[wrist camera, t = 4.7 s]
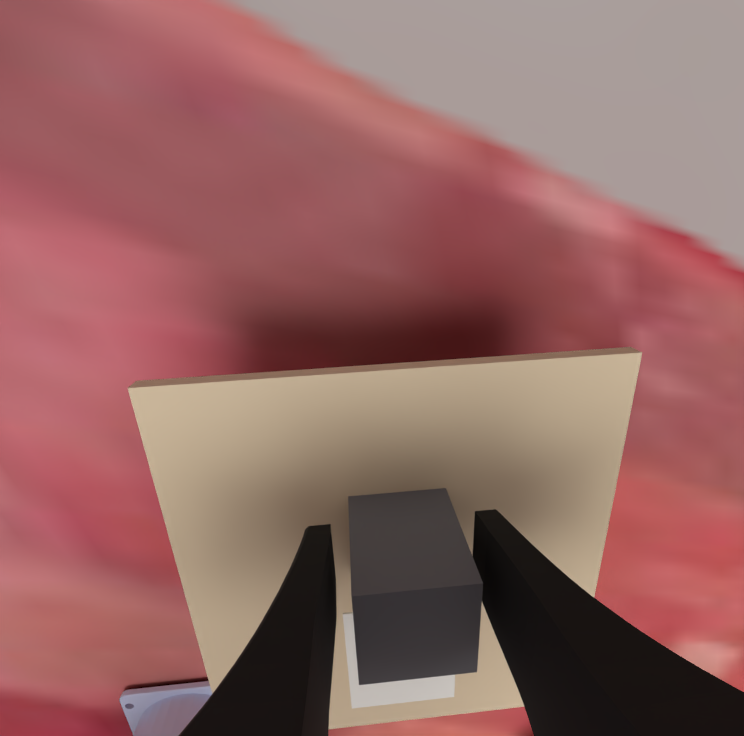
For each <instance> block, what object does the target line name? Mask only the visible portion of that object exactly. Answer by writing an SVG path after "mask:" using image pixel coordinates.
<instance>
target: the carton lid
mask: <svg viewBox="0 0 744 736" xmlns="http://www.w3.org/2000/svg"><path fill="white" fill-rule="evenodd" d="M641 356H642V352H640V351H638V350H636V349H634V348H631V347H624V348H610V349H595V350H580V351H566V352H551V353H537V354H522V355H507V356H493V357H478V358H464V359H449V360H434V361H420V362H405V363H391V364H376V365H361V366H347V367H332V368H318V369H303V370H288V371H274V372H259V373H245V374H230V375H215V376H201V377H186V378H172V379H157V380H142V381H136V382H135V383H133V384H132V385H131V386H130V387H128V391H129V395H130V398H131V402H132V406H133V409H134V413H135V416H136V420H137V424H138V427H139V431H140V434H141V438H142V442H143V445H144V449H145V453H146V456H147V460H148V463H149V467H150V471H151V474H152V478H153V481H154V485H155V489H156V492H157V496H158V499H159V503H160V507H161V510H162V514H163V518H164V521H165V525H166V528H167V532H168V536H169V539H170V543H171V546H172V550H173V554H174V557H175V561H176V565H177V568H178V572H179V575H180V579H181V583H182V586H183V590H184V593H185V597H186V601H187V604H188V608H189V612H190V615H191V619H192V622H193V626H194V630H195V633H196V637H197V640H198V644H199V648H200V651H201V655H202V658H203V662H204V666H205V669H206V673H207V677H208V680H209V684H210V687H211V691H212V694H213V692H214V691H215V690H216V688H217V687H218V686H219V684H220V683H221V681H222V680H223V679H224V677H225V676H226V675H227V673H228V672H229V670H230V669H231V668H232V666H233V665H234V663H235V662H236V661H237V659H238V658H239V656H240V655H241V653H242V652H243V650H244V649H245V647H246V646H247V644H248V643H249V641H250V639H251V638H252V636H253V635H254V633H255V631H256V630H257V628H258V626H259V625H260V623H261V622H262V620H263V618H264V616H265V614H266V613H267V611H268V609H269V607H270V606H271V604H272V602H273V600H274V598H275V597H276V595H277V593H278V591H279V589H280V587H281V585H282V583H283V581H284V579H285V577H286V575H287V573H288V571H289V569H290V567H291V564H292V562H293V560H294V558H295V555H296V553H297V551H298V548H299V546H300V543H301V540H302V538H303V535H304V531H305V529H306V528H307V527H308V526H314V525H325V524H331V534H332V544H333V554H334V564H335V574H336V607H337V620H336V633H335V646H334V658H333V671H332V683H331V696H330V708H329V728H328V729H335V728H344V727H353V726H361V725H370V724H378V723H387V722H395V721H404V720H413V719H421V718H430V717H438V716H447V715H456V714H464V713H473V712H481V711H490V710H499V709H507V708H516V707H524V704H523V701H522V699H521V696H520V693H519V690H518V688H517V686H516V683H515V681H514V678H513V676H512V674H511V671H510V669H509V666H508V664H507V661H506V659H505V657H504V654H503V652H502V649H501V647H500V645H499V642H498V640H497V637H496V635H495V633H494V630H493V628H492V625H491V623H490V620H489V618H488V615H487V613H486V610H485V608H484V605H483V603H482V591H483V582H482V579H481V577H480V574H479V572H478V569H477V567H476V564H475V562H474V559H473V538H474V519H475V511H482V510H493V509H496V510H497V511H498V512H500V513H501V514H502V515H503V516H504V517H505V518H506V519H507V520H508V521H509V522H510V523H511V524H512V525H513V526H514V527H515V528H516V529H517V530H518V531H519V532H520V533H521V534H522V535H523V536H524V537H525V538H526V539H527V540H528V541H529V542H530V543H531V544H532V545H533V546H535V547H536V548H537V549H538V550H539V551H540V552H541V553H542V554H543V555H544V556H545V557H547V558H548V559H549V560H550V561H551V562H552V563H553V564H554V565H555V566H557V567H558V568H559V569H560V570H561V571H562V572H563V573H565V574H566V575H567V576H568V577H569V578H570V579H572V580H573V581H574V582H575V583H576V584H578V585H579V586H580V587H581V588H582V589H584V590H585V591H586V592H587V593H589V594H590V595H591V596H592V597H594V595H595V590H596V585H597V580H598V575H599V570H600V565H601V560H602V555H603V550H604V545H605V539H606V534H607V529H608V524H609V519H610V514H611V509H612V504H613V499H614V494H615V489H616V483H617V478H618V473H619V468H620V463H621V458H622V453H623V448H624V443H625V438H626V433H627V428H628V422H629V417H630V412H631V407H632V402H633V397H634V392H635V387H636V382H637V377H638V372H639V366H640V361H641Z"/></svg>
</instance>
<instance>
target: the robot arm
mask: <svg viewBox="0 0 744 736" xmlns="http://www.w3.org/2000/svg"><path fill="white" fill-rule="evenodd" d="M473 559H474V562H475V564H476V567H477V569H478V572H479V574H480V577H481V579H482V582H483V591H482V603H483V605H484V608H485V610H486V613H487V615H488V618H489V620H490V623H491V625H492V628H493V630H494V633H495V635H496V637H497V640H498V642H499V645H500V647H501V649H502V652H503V654H504V657H505V659H506V661H507V664H508V666H509V669H510V671H511V674H512V676H513V678H514V681H515V683H516V686H517V688H518V690H519V693H520V696H521V699H522V701H523V704H524V707H525V709H526V712H527V715H528V718H529V721H530V724H531V728H532V731H533V734H534V736H744V692H742V691H740V690H738V689H736V688H735V687H733V686H731V685H729V684H727V683H726V682H724V681H722V680H720V679H719V678H717V677H715V676H713V675H711V674H710V673H708V672H706V671H704V670H702V669H701V668H699V667H697V666H696V665H694V664H692V663H691V662H689V661H687V660H686V659H684V658H682V657H680V656H679V655H677V654H676V653H674V652H672V651H671V650H669V649H668V648H666V647H665V646H663V645H661V644H660V643H658V642H657V641H655V640H653V639H652V638H650V637H649V636H647V635H646V634H644V633H643V632H641V631H640V630H638V629H637V628H635V627H634V626H632V625H631V624H629V623H628V622H627V621H625V620H624V619H622V618H621V617H620V616H618V615H617V614H615V613H614V612H613V611H611V610H610V609H609V608H607V607H606V606H604V605H603V604H602V603H600V602H599V601H598V600H596V599H595V598H594V597H592V596H591V595H590V594H589V593H587V592H586V591H585V590H584V589H582V588H581V587H580V586H579V585H578V584H576V583H575V582H574V581H573V580H572V579H570V578H569V577H568V576H567V575H566V574H565V573H563V572H562V571H561V570H560V569H559V568H558V567H557V566H555V565H554V564H553V563H552V562H551V561H550V560H549V559H548V558H547V557H545V556H544V555H543V554H542V553H541V552H540V551H539V550H538V549H537V548H536V547H535V546H533V545H532V544H531V543H530V542H529V541H528V540H527V539H526V538H525V537H524V536H523V535H522V534H521V533H520V532H519V531H518V530H517V529H516V528H515V527H514V526H513V525H512V524H511V523H510V522H509V521H508V520H507V519H506V518H505V517H504V516H503V515H502V514H501V513H500V512H498V511H497V510H496V509H493V510H482V511H475V519H474V538H473ZM336 620H337V607H336V574H335V564H334V554H333V544H332V534H331V524H325V525H314V526H308V527H307V528H306V529H305V531H304V535H303V538H302V540H301V543H300V546H299V548H298V551H297V553H296V555H295V558H294V560H293V562H292V564H291V567H290V569H289V571H288V573H287V575H286V577H285V579H284V581H283V583H282V585H281V587H280V589H279V591H278V593H277V595H276V597H275V598H274V600H273V602H272V604H271V606H270V607H269V609H268V611H267V613H266V614H265V616H264V618H263V620H262V622H261V623H260V625H259V626H258V628H257V630H256V631H255V633H254V635H253V636H252V638H251V639H250V641H249V643H248V644H247V646H246V647H245V649H244V650H243V652H242V653H241V655H240V656H239V658H238V659H237V661H236V662H235V663H234V665H233V666H232V668H231V669H230V670H229V672H228V673H227V675H226V676H225V677H224V679H223V680H222V681H221V683H220V684H219V686H218V687H217V688H216V690H215V691H214V692H213V694H212V691H211V687H210V684H209V681H203V682H193V683H184V684H175V685H166V686H156V687H147V688H138V689H129V690H125V691H124V692H123V693H122V694H121V697H120V699H119V700H120V703H121V706H122V708H123V711H124V713H125V716H126V718H127V721H128V723H129V726H130V728H131V731H132V733H133V736H328V728H329V708H330V696H331V683H332V671H333V658H334V646H335V633H336Z"/></svg>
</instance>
